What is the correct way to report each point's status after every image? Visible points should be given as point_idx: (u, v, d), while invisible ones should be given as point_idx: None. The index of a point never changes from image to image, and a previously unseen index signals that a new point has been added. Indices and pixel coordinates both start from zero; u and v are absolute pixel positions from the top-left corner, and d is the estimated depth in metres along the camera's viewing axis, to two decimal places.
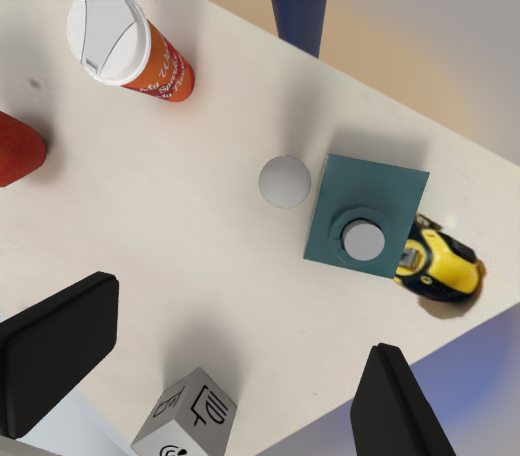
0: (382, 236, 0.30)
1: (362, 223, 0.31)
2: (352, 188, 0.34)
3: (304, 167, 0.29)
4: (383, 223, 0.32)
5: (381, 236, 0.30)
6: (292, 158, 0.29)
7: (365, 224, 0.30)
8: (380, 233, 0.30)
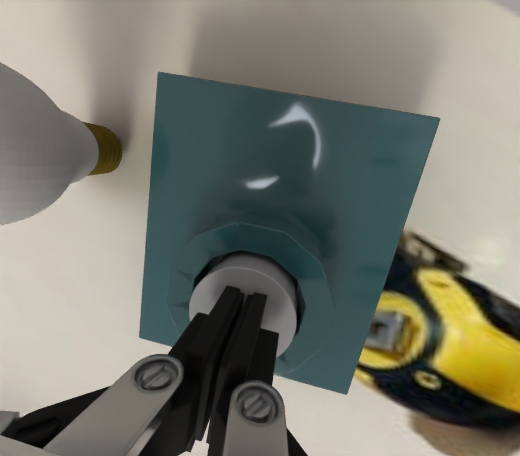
0: (288, 304, 0.10)
1: (233, 264, 0.11)
2: (228, 168, 0.12)
3: None
4: (303, 268, 0.11)
5: (286, 304, 0.10)
6: None
7: (239, 268, 0.10)
8: (282, 295, 0.10)
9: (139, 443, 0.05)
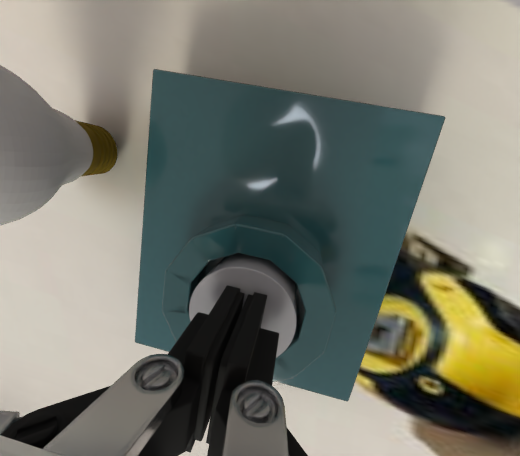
0: (288, 304, 0.10)
1: (233, 264, 0.11)
2: (226, 168, 0.12)
3: None
4: (303, 272, 0.10)
5: (286, 304, 0.10)
6: None
7: (239, 268, 0.10)
8: (282, 295, 0.10)
9: (139, 443, 0.05)
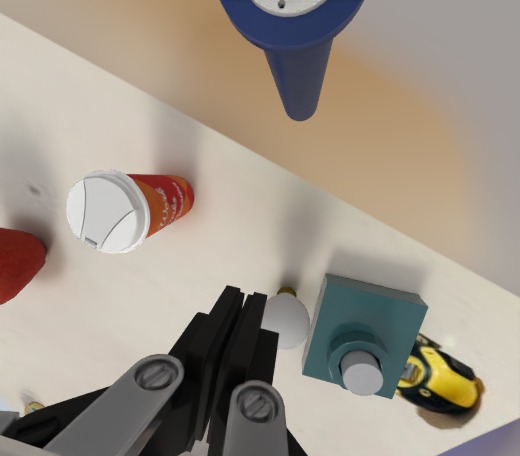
0: (381, 376, 0.30)
1: (361, 361, 0.31)
2: (350, 315, 0.34)
3: (303, 314, 0.29)
4: (382, 356, 0.32)
5: (380, 376, 0.30)
6: (291, 305, 0.29)
7: (364, 363, 0.31)
8: (379, 373, 0.30)
9: (139, 443, 0.05)
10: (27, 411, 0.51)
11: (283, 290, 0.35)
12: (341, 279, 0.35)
